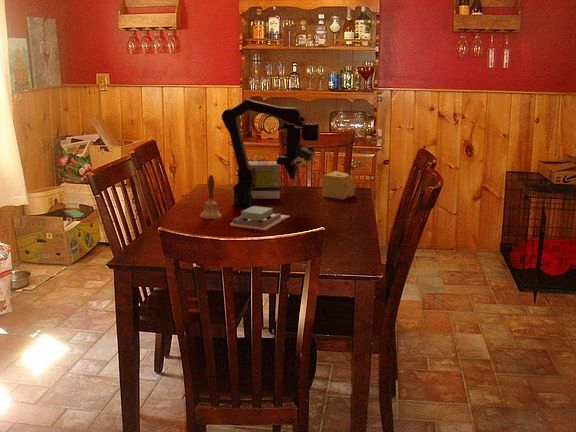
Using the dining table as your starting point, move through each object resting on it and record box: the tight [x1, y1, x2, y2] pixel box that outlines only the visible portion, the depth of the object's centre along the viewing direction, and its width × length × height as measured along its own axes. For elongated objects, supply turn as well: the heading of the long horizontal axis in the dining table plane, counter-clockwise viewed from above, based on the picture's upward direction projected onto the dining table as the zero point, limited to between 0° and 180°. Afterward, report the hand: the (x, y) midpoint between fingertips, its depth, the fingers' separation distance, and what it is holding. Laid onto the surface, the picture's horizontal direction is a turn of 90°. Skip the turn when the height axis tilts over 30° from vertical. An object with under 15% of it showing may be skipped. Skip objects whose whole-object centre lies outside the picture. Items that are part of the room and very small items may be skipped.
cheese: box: [322, 170, 355, 200], centre depth 302 cm, size 10×11×10 cm
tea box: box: [248, 161, 281, 200], centre depth 298 cm, size 15×10×15 cm, turn 92°
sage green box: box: [240, 205, 274, 222], centre depth 254 cm, size 8×10×4 cm
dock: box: [229, 212, 290, 231], centre depth 259 cm, size 14×22×2 cm, turn 157°
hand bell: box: [199, 174, 223, 220], centre depth 263 cm, size 8×8×16 cm
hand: (292, 179), depth 276 cm, fingers closed
